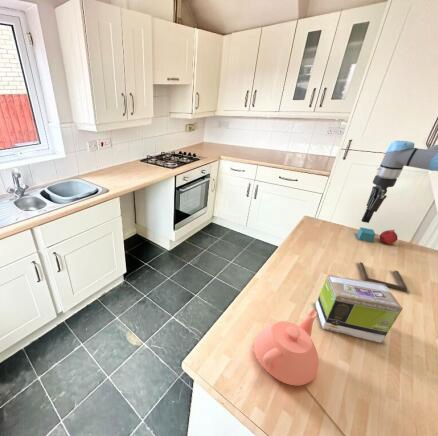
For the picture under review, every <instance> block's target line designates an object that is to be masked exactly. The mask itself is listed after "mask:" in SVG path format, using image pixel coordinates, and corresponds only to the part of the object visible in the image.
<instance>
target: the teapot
mask: <svg viewBox="0 0 438 436" xmlns="http://www.w3.org/2000/svg"><path fill="white" fill-rule="evenodd" d="M317 315H318V311H317V310H315V309H314V310H311V311H310V312H308V315H307V316H306V317H305V318H304V319H303V320H302V322H301V323H299V324H298V325H297V324H295V323H293V322H291V321H287V320H284V321H283V320H282V321H276V322H272V323H270V324H267V325H266V326H265V327H263V328H262V329H261V330H260V331H259V332H258V333H257V335H256V337H255V339H254V341H253V351H254V355H255V357H256V360H257V362H259V364H260V365H261V367H262V368H263V369H264V370H265V371H266V372H267V373H268V374H269V375H270V376H272V377H273V378H274V379H276V380H278V381H279V382H282V383H284V384H287V385H290V386H303V385H306V384H309V383H310V382H312V381H313V380H314V379H315V377H316V375H317V373H318V370H319V354H318V351H317V347H316V345H315V343H314V341H313V339H312V338H311V337H312V333H313V324H314V321H315V319H316V317H317Z"/></svg>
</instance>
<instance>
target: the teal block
mask: <svg viewBox="0 0 438 436" xmlns="http://www.w3.org/2000/svg"><path fill="white" fill-rule="evenodd" d="M356 237H357V239H358V240H359V241H364V242H368V243H373V241H374V239H375V237H376V232H375V231H374V229H372V228H366V227H359V229H358V230H357V233H356Z"/></svg>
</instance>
